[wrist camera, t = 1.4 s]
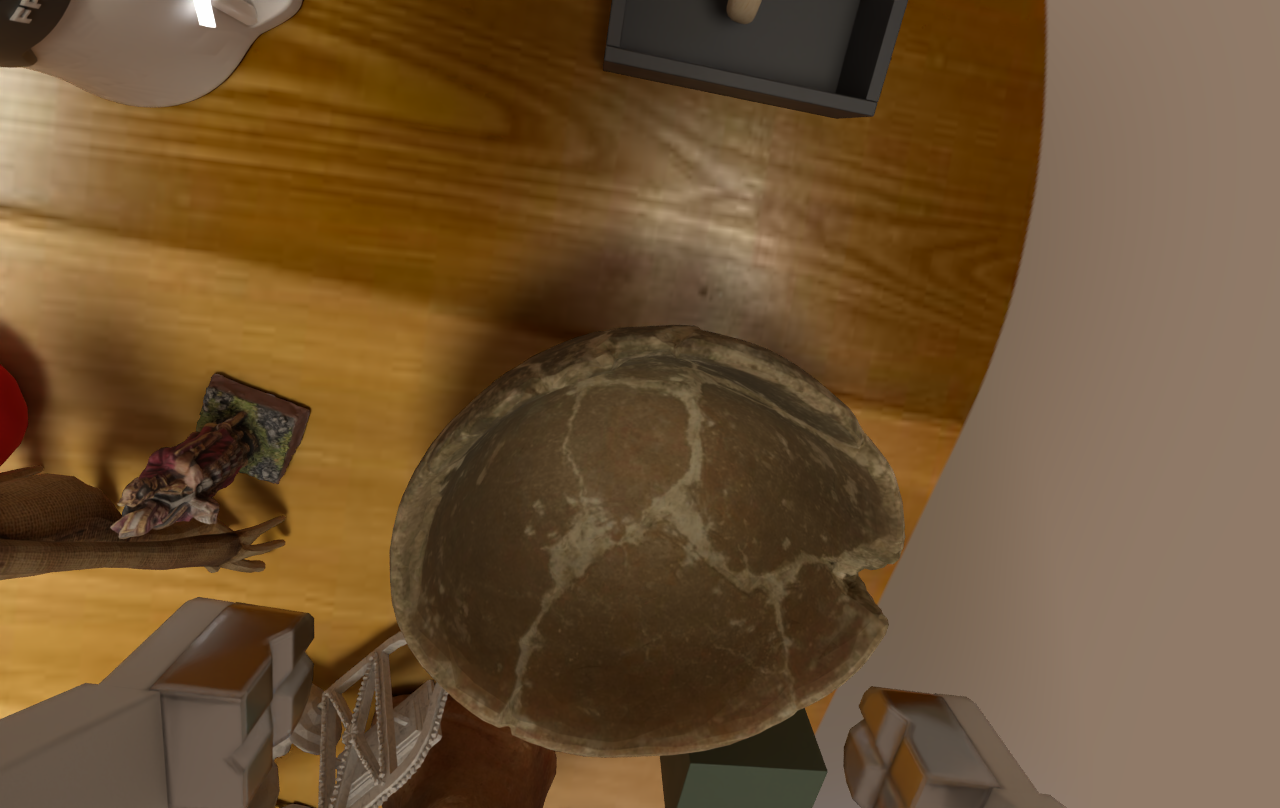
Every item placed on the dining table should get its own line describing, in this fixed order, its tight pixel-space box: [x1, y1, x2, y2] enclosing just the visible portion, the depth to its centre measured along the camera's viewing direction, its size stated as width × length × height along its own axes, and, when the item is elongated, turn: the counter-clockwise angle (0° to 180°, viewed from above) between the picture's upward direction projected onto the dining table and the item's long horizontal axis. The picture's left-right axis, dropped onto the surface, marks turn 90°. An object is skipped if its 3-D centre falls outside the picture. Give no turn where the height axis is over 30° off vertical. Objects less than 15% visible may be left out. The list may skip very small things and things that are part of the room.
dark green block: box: [660, 708, 827, 808], centre depth 50 cm, size 8×10×12 cm
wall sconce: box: [248, 631, 449, 808], centre depth 45 cm, size 19×8×30 cm
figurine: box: [110, 374, 310, 539], centre depth 37 cm, size 6×6×12 cm
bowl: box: [390, 325, 905, 758], centre depth 39 cm, size 28×27×15 cm
